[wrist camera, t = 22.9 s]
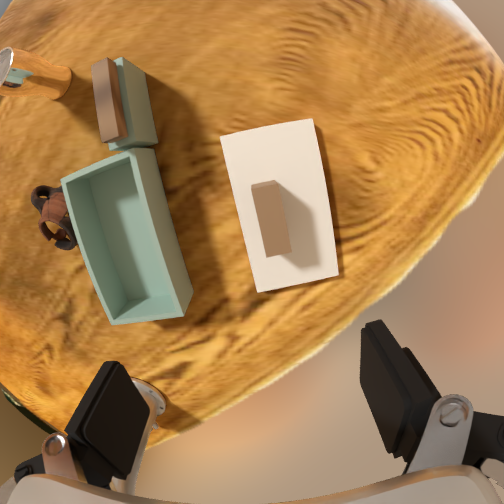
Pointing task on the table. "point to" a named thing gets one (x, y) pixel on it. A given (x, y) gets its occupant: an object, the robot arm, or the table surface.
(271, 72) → the table surface
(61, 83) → the beer glass
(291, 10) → the table surface
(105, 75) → the brown rectangular block
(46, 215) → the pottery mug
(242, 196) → the lid
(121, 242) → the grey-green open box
